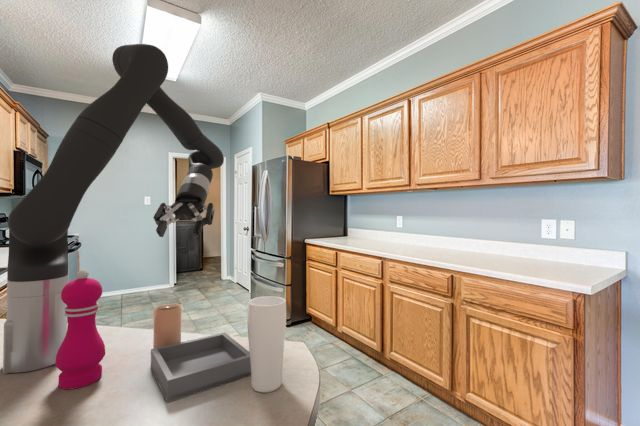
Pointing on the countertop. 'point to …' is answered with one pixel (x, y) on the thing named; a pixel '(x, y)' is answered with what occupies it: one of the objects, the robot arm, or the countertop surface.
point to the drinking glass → (266, 341)
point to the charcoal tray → (199, 365)
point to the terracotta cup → (167, 325)
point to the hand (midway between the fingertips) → (177, 234)
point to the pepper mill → (80, 334)
